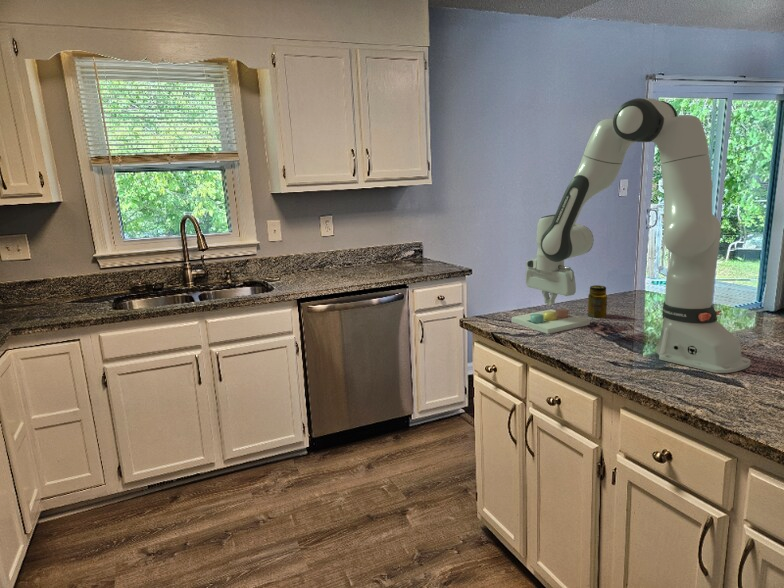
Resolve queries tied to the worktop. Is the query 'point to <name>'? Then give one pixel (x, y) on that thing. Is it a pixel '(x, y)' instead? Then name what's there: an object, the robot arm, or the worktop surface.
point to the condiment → (597, 302)
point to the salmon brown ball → (562, 313)
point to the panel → (551, 322)
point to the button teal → (537, 318)
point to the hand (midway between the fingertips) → (549, 304)
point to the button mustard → (549, 316)
